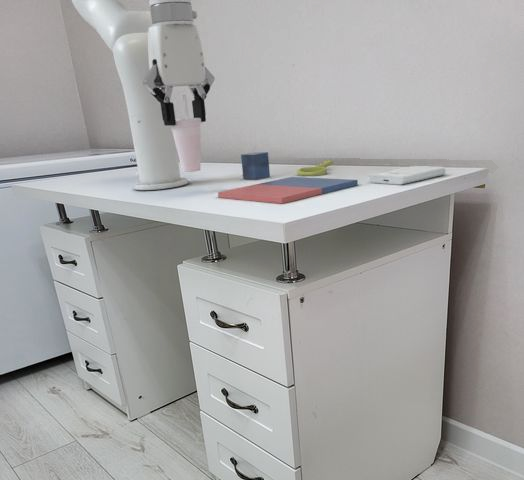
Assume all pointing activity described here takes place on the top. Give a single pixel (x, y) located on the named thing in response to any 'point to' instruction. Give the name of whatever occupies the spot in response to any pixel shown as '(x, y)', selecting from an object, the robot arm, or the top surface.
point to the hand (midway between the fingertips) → (185, 122)
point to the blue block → (255, 165)
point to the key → (315, 169)
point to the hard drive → (407, 175)
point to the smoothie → (188, 141)
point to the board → (287, 189)
